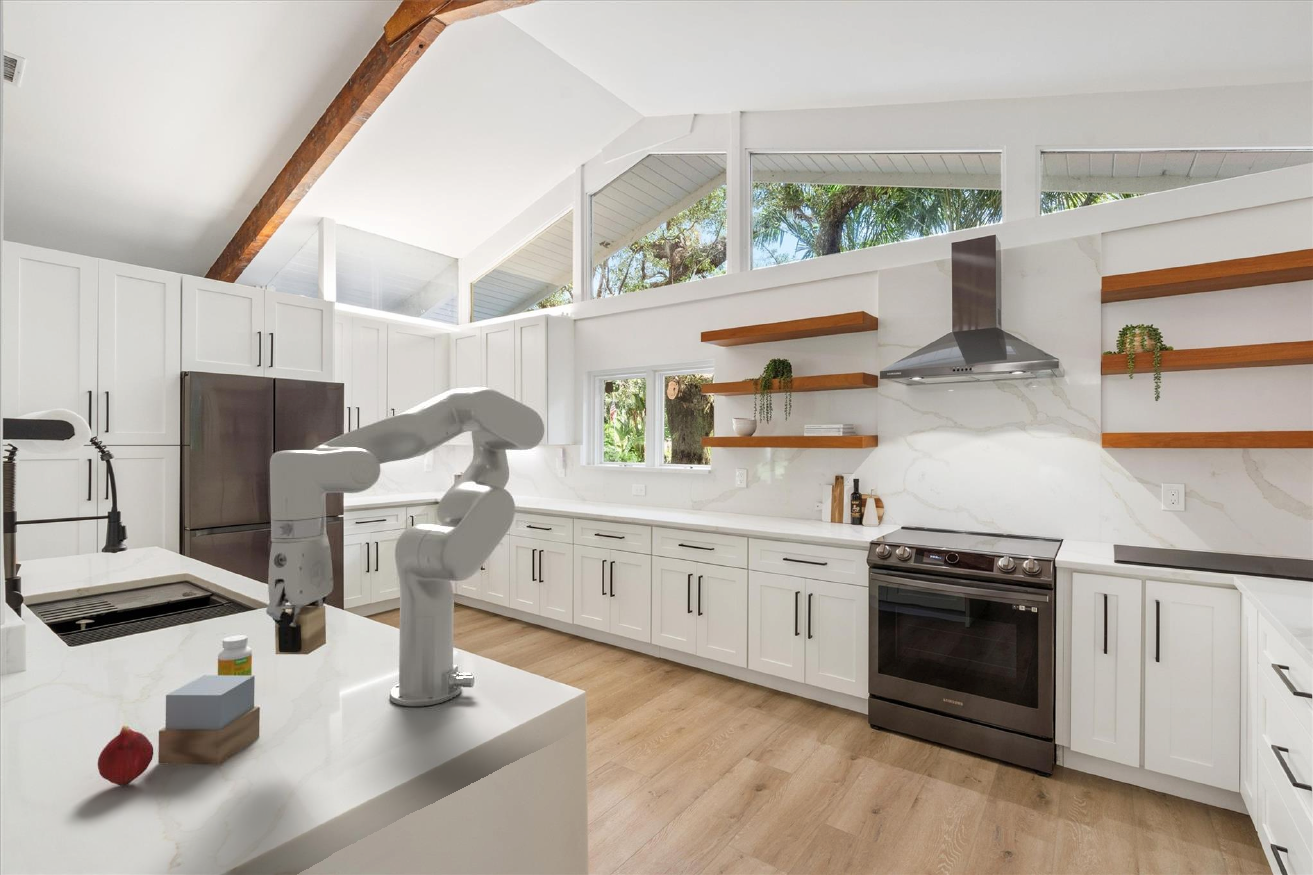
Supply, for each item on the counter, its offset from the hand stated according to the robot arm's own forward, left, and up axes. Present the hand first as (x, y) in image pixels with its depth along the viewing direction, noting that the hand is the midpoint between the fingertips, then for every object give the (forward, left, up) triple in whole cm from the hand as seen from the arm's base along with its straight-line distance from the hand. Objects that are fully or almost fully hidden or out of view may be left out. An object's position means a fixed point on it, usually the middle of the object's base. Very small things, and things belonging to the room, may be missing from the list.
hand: (301, 643), depth 100 cm
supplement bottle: (+25, -20, -16) cm, 36 cm away
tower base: (+12, +3, -16) cm, 20 cm away
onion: (+16, +13, -16) cm, 26 cm away
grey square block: (+12, +3, -11) cm, 16 cm away
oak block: (0, 0, -1) cm, 1 cm away
